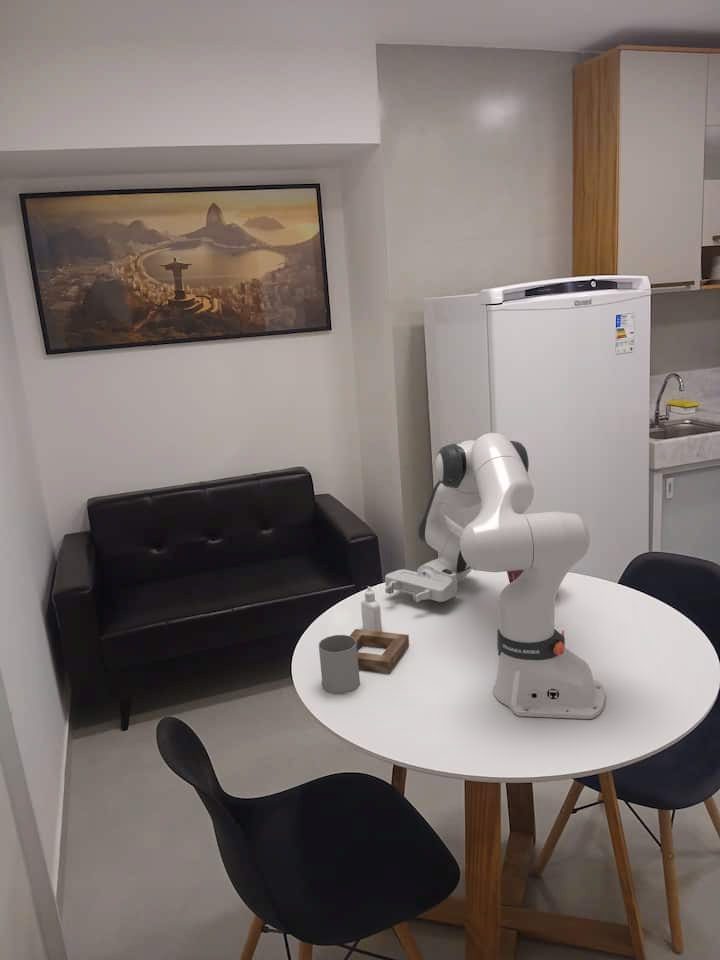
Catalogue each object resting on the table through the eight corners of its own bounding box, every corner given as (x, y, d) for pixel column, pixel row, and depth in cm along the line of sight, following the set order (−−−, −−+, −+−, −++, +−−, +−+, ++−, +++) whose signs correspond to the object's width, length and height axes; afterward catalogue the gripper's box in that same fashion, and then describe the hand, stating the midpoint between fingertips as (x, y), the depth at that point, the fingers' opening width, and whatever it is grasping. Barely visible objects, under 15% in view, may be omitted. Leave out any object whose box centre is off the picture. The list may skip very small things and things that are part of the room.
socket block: (409, 646, 178) (408, 634, 177) (389, 674, 165) (388, 662, 164) (356, 639, 183) (355, 628, 182) (333, 666, 170) (332, 654, 170)
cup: (361, 674, 166) (358, 634, 163) (358, 693, 158) (354, 651, 155) (325, 675, 167) (321, 635, 164) (319, 694, 159) (315, 652, 156)
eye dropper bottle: (366, 636, 184) (362, 592, 182) (362, 627, 190) (358, 584, 187) (382, 633, 185) (379, 589, 182) (378, 624, 191) (375, 581, 188)
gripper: (402, 560, 211) (370, 576, 201) (461, 574, 197) (430, 591, 187) (403, 581, 212) (372, 597, 202) (462, 596, 198) (431, 614, 189)
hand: (400, 594), depth 195 cm, fingers open, 8 cm apart
